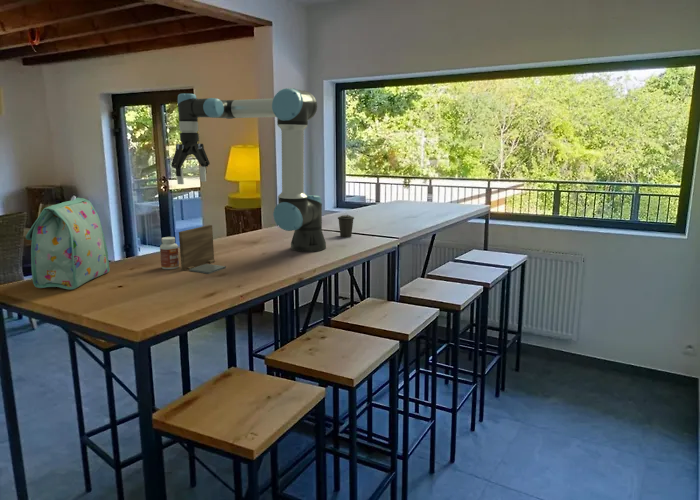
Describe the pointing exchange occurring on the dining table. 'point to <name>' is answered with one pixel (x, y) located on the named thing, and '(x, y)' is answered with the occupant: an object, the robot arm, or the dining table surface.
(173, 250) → the pill bottle
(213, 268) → the coaster
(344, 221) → the coffee cup
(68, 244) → the lunch bag
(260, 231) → the dining table surface
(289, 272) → the dining table surface
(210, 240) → the wooden board
